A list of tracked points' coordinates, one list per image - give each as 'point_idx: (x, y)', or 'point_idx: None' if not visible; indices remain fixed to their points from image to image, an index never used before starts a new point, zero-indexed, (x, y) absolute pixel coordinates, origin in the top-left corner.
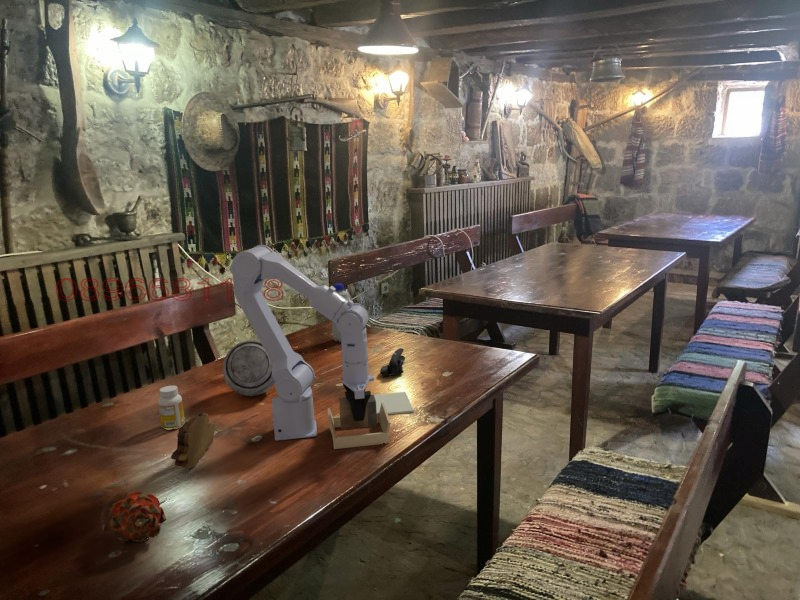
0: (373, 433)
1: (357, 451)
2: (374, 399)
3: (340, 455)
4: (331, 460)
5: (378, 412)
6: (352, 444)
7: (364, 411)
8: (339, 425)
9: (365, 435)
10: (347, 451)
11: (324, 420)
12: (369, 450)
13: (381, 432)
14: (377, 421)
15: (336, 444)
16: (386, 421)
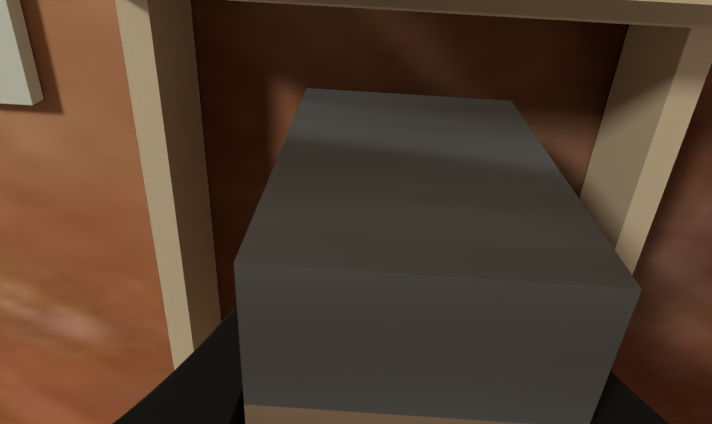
0: (650, 164)
1: (659, 259)
2: (518, 297)
3: (650, 358)
4: (682, 406)
5: (124, 5)
6: None
7: None
8: (218, 321)
9: (643, 238)
10: None
11: (96, 377)
12: (697, 177)
13: (679, 79)
14: (186, 10)
15: None
16: (655, 9)
